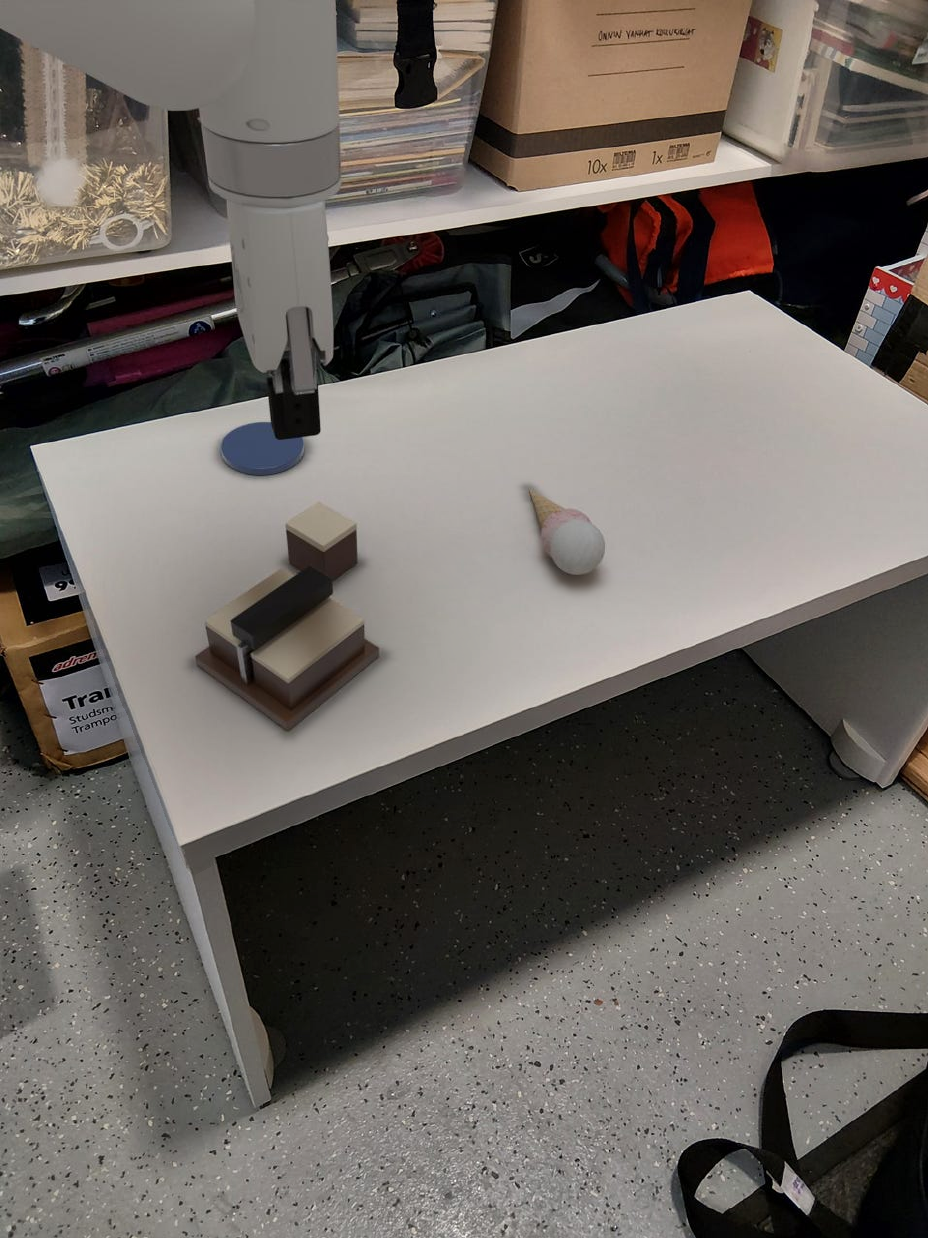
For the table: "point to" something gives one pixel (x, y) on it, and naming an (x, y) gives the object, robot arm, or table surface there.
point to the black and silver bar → (277, 614)
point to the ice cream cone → (569, 537)
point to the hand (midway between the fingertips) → (296, 430)
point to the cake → (289, 655)
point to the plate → (260, 450)
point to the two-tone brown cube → (322, 541)
